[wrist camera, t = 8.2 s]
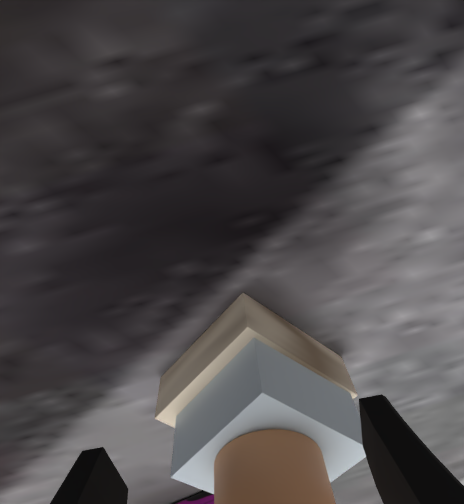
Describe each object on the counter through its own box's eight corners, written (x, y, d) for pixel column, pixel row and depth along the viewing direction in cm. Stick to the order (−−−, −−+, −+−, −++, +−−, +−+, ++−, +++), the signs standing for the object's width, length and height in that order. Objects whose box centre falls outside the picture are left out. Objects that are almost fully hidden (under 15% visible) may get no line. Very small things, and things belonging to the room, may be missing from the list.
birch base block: (161, 372, 21) (154, 418, 19) (242, 287, 19) (247, 326, 16) (256, 421, 24) (262, 469, 21) (339, 351, 21) (357, 395, 19)
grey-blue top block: (176, 416, 19) (170, 477, 16) (253, 337, 16) (262, 392, 14) (270, 458, 20) (278, 519, 18) (350, 393, 18) (373, 450, 16)
